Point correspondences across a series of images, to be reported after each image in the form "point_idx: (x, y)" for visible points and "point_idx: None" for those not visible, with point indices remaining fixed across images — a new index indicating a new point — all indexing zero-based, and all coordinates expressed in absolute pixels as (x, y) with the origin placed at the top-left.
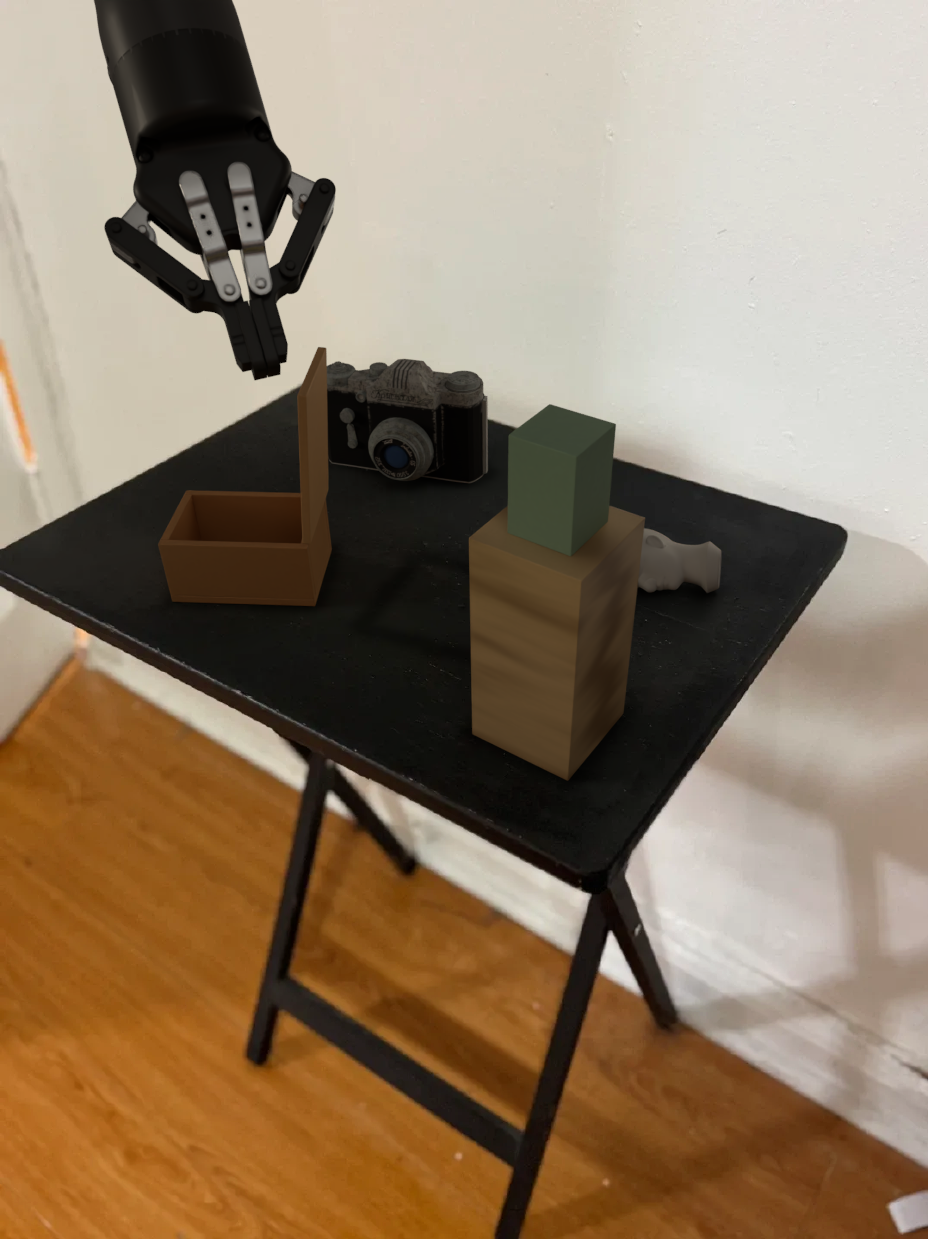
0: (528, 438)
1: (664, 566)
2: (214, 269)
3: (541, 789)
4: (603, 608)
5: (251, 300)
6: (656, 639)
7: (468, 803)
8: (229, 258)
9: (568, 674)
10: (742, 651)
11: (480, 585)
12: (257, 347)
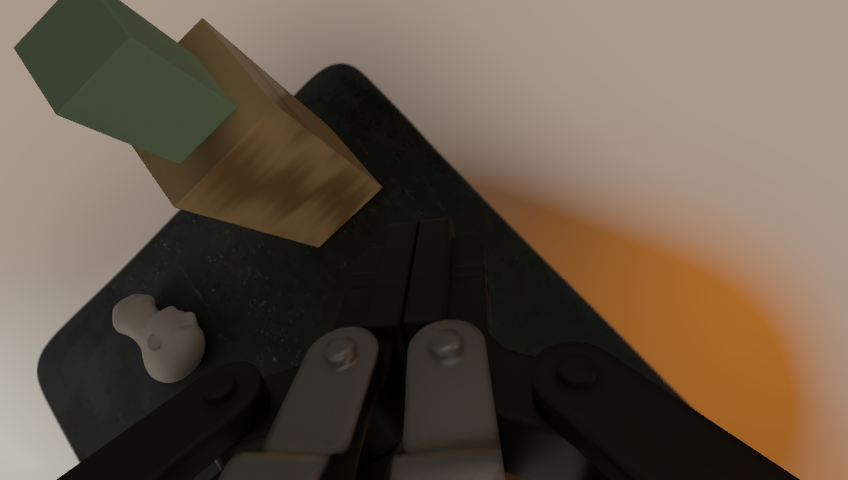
0: (112, 23)
1: (164, 317)
2: (477, 419)
3: (350, 124)
4: None
5: (392, 323)
6: (215, 264)
7: (403, 120)
8: (403, 445)
9: (277, 83)
10: (167, 234)
11: (299, 120)
12: (425, 236)
